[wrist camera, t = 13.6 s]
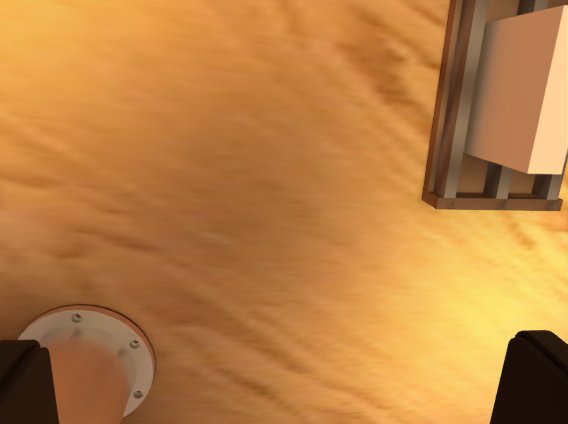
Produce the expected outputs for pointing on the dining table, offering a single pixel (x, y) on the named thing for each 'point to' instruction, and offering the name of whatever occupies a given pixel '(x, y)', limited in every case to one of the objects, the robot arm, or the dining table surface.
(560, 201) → the dark wooden tray
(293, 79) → the dining table surface
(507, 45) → the door panel
